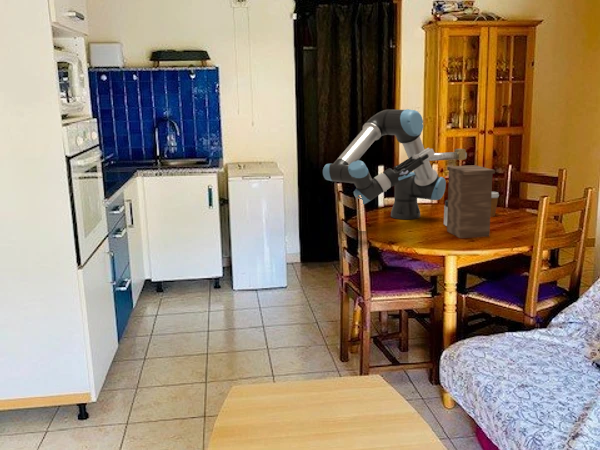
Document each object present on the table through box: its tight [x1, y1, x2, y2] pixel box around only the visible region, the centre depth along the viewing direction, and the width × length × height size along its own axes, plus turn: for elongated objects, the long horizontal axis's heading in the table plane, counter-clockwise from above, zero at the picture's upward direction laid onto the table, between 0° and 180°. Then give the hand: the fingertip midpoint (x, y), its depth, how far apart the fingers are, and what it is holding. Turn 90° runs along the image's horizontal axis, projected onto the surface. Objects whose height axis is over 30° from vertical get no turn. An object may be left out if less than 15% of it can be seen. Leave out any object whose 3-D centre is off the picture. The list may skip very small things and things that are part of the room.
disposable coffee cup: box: [490, 191, 500, 218], centre depth 309 cm, size 10×10×12 cm
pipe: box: [412, 148, 468, 162], centre depth 261 cm, size 4×24×4 cm, turn 101°
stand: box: [446, 164, 496, 239], centre depth 269 cm, size 18×14×30 cm
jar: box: [443, 199, 448, 227], centre depth 289 cm, size 9×8×12 cm
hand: (431, 150), depth 260 cm, fingers closed on pipe, 3 cm apart
